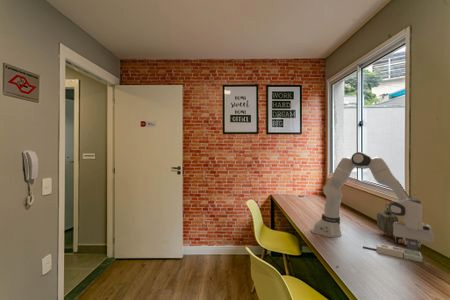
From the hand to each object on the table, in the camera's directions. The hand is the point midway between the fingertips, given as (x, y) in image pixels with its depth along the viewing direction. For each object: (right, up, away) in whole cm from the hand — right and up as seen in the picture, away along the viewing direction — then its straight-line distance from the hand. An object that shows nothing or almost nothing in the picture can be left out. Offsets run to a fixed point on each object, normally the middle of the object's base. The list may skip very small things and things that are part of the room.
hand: (412, 245), depth 148 cm
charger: (0, -5, 0) cm, 5 cm away
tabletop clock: (+7, -7, +34) cm, 36 cm away
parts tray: (0, -8, 0) cm, 8 cm away
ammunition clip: (+9, -7, +19) cm, 22 cm away
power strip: (-14, -7, +8) cm, 18 cm away
